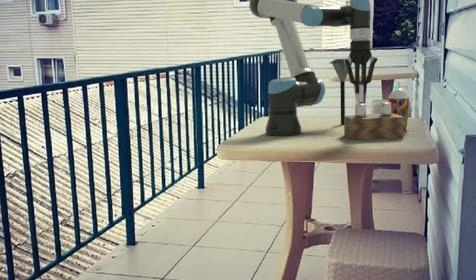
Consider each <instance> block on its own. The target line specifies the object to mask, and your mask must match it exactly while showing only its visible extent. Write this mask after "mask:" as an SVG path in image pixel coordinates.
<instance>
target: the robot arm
mask: <svg viewBox="0 0 476 280" xmlns="http://www.w3.org/2000/svg"><path fill="white" fill-rule="evenodd" d="M248 7H249V10H250V12H251V14H253V16H255V17H257V18H260V19H269V21H270V24H271V26H273V27H275V29H276V31H277V35H278V38H279V40H280V41H279V42H280V45H281V48H282V51H283V54H284V58H285V60H286V63H287V67H288V70H289V72H290V76H286V77H279V78H276V79H272V80H270V82H269V83H268V89H267V93H268V111H269V113H268V114H269V115H268V120H267V123H266V127H265V135H267V136H275V137H276V136H281V137H283V136H284V137H285V136H294V135H295V136H296V135H300V134H301V133H302V126H301V124H300V120H299V118H298V114H297V113H298V112H297V111H298V110H297V108H299V107H308V106H309V107H312V106H314V105H318V104H320V103H321V102H322V101H323V100H324V96H325V94H326V88H325V87H326V86H325V83H324V81H323V80H322V79H320V78H319V77H317V76H316V73H315V71H314V70H312V69H311V68H310V66H309V62H308V60H307V57H306V54H305V51H304V47H303V44H302V40H301V38H300V35H299V32H298V29H297V26H296V23H299V24H303V25H304V26H306V27H310V28H311V27H313V28H315V27H332V28H333V27H335V28H336V27H337V28H338V27H339V28H340V27H345V26H346V27H347V26H349V34H350V35H349V36H350V38H349V40H351V41H350V42H349V43H350V47H349V48H350V50H349V51H350V52H349V54H348V56H347V58H343V59H344V60H343V61H344V63H345V64H346V67H347V71H348V75H347V76H348V79H349V82H350V84H352V85H354V87H355V89H354V90H355V94H357V102H358V103H364V102H365V100H364V94H366V92H367V84H370V83H371V82H372V78H373V74H374V69H375V64H376V63H377V61H378V58H377V57H375V56H373V55H372V53H371V40H370V39H371V12H372V11H371V10H372V9H371V1H370V0H350V1H349V5H344V6H332V5H331V6H328V5H326V6H325V5H324V6H323V5H315V4H308V3H302V2H298V0H249V5H248ZM350 60H352V62H353V63H352V64H353V65H354V71H353V68H352V65H351V64H350V62H351V61H350ZM368 62H370V63H369V66H368V71H367V63H368ZM360 70H361V71H360ZM360 72H361V73H360ZM360 74H361V77H360ZM360 78H361V80H360ZM360 83H361V84H360Z"/></svg>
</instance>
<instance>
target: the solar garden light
mask: <svg viewBox="0 0 476 280" xmlns="http://www.w3.org/2000/svg"><path fill="white" fill-rule="evenodd" d="M344 59H345V58H335V59H333V60H332V61H330V62H329V63H328V64H332V66H333V68H334V71H335V73H336V75H337V77H338V79H339V83H340V84H339V85H340V125H341V126H344V116H346V103H345V102H346V97H345V96H346V95H345V93H346V92H345V91H346V90H345V87H346V85H345V82H346V79H347V77H348V76H349V75H348V71H347V67H346V64H345V63H344V61H343V60H344ZM350 61H351V62H350V64H351V66H352V65H353V64H354V63H353V62H352V60H350Z"/></svg>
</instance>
